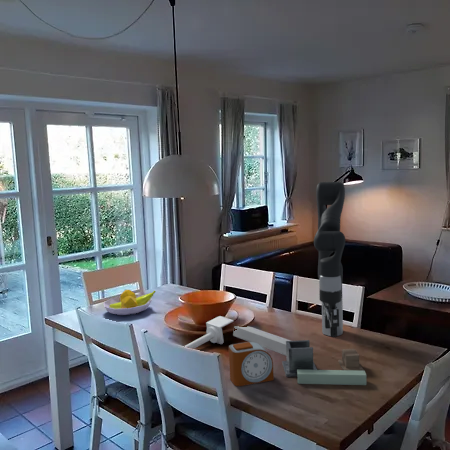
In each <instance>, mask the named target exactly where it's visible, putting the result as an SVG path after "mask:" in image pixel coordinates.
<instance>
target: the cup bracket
mask: <svg viewBox="0 0 450 450" xmlns="http://www.w3.org/2000/svg"><path fill="white" fill-rule="evenodd" d="M310 343H311V342H310V340H309V339H306V340H305V339H304V340H291V341H286V358H285V359H286V360H282V361H281V365H282V367H283V371H284V374H285V378H288V377H297V369H298V370H318V369H317V365H315V362H314V347H313V346H311V345H310Z"/></svg>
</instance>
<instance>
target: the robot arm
mask: <svg viewBox="0 0 450 450" xmlns="http://www.w3.org/2000/svg"><path fill="white" fill-rule="evenodd" d="M315 190H316V191H315V192H316V193H315V194H316V195H315V196H316V207H317V208H316V209H317V231H316V233H315V234H314V235H315V236H314V237H313V245H314V248H315V250H317V252H318V260H317V261H318V263H317V264H318V265H317V277H318V284H319V285H318V286H319V287H318V289H319V290H318V291H319V294H318V295H319V301H320V302H321V329H322V330H321V332H322V334H323V335H326V336H329V337H331V338H336V337H339V336H341V335H343V332H344V329H343V328H344V325H343V324H344V321H343V320H344V319H343V315H344V314H343V313H344V312H343V306H344V305H343V276H344V275H343V274H344V273H343V271H344V269H343V264H342V261H341V260H342V256H343V252H344V248H345V245H346V236H345V233H343V231H341V217H342V212H343V208H344V204H345V197H346V194H345V193H346V189H345V185H344V183H343V182H340V181H320V182H319V183H318V184H317V185H316V188H315ZM327 206H328V207H327ZM333 253H334V254H333ZM331 254H333V255H332V256H331Z"/></svg>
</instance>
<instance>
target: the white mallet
mask: <svg viewBox="0 0 450 450" xmlns="http://www.w3.org/2000/svg"><path fill="white" fill-rule="evenodd" d="M233 322H234V320H233V319H230V318H229V317H226V316H221V315H219V316H216V317H215V318H213V319H211V320H208V321H207V322H205V325H206V331H205V332H206V333H205V334H204V335H203V336H201V337H199V338H197V339H195V340H193V341H192V342H190V343H187V344H186V345H184V346H185V347H189V348H193V349H192V350H194V349H196V348H199V347H200V346H202V345H203V344H205V343H207V342H209V341H210V342H211V343H213V344H215V343H217V344H220V345H223V343H225V342H224V335H223V328H224V327H225V326H228V325H229V324H231V323H233Z"/></svg>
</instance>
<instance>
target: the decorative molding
mask: <svg viewBox="0 0 450 450" xmlns="http://www.w3.org/2000/svg"><path fill="white" fill-rule="evenodd" d="M234 328H235V329H237V330H235V331H234V330H233V333H232V336H233V337H236V338H237V339H241V340H244V341H245V342H256V343H258V344H260V345H261V346H262V347H263V348H264V349H268V350H270V351H272V352H275V353H276V354H281V355H282V356H284V357H285V356H286V341H292V340H290V339H288V338H285V337H281V336H278V335H276V334H272V333H269V332H267V331H264V330H261V329H258V328H255V327H252V326H248V325H247V327H239V325H237V326H235V325H234V326H233V329H234Z"/></svg>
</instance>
